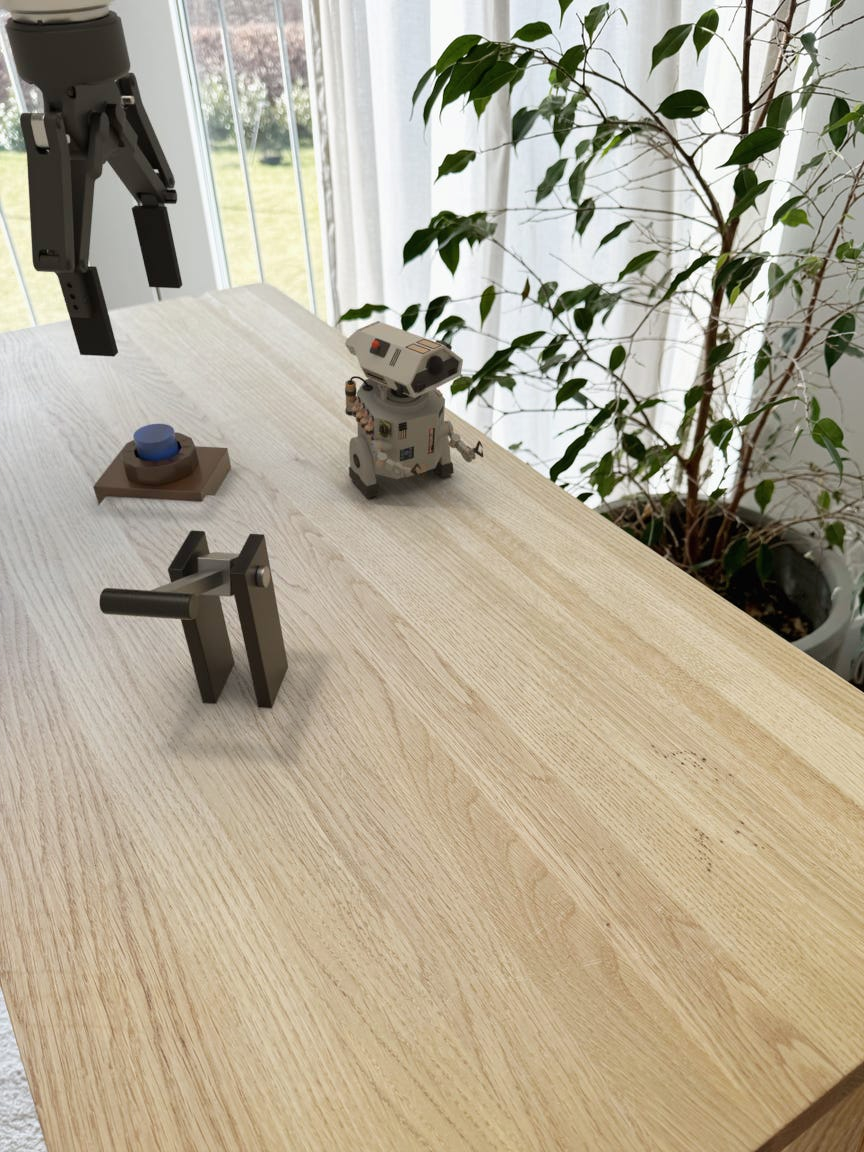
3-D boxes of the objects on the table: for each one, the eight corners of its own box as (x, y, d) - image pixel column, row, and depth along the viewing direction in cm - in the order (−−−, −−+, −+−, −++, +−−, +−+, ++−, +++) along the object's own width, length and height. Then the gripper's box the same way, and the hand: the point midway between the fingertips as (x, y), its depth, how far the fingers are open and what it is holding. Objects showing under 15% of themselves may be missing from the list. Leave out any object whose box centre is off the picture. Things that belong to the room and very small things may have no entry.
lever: (188, 631, 54) (188, 587, 53) (99, 625, 54) (97, 581, 54) (266, 591, 66) (266, 555, 66) (193, 586, 67) (192, 550, 66)
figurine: (393, 532, 88) (381, 372, 78) (343, 473, 96) (326, 320, 86) (484, 504, 91) (483, 348, 82) (429, 449, 99) (421, 300, 89)
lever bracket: (284, 751, 68) (255, 603, 60) (171, 742, 69) (126, 595, 61) (319, 655, 76) (298, 511, 67) (217, 648, 76) (182, 505, 68)
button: (132, 462, 91) (126, 441, 89) (147, 442, 93) (141, 422, 92) (170, 464, 90) (165, 443, 89) (184, 444, 93) (179, 424, 92)
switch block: (98, 507, 92) (87, 469, 89) (132, 462, 98) (122, 425, 95) (204, 513, 91) (196, 474, 88) (231, 467, 97) (224, 430, 94)
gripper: (25, 49, 58) (115, 390, 71) (181, -16, 77) (229, 264, 90) (-96, 47, 59) (16, 384, 72) (88, -17, 77) (149, 260, 91)
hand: (134, 318), depth 81 cm, fingers open, 13 cm apart
